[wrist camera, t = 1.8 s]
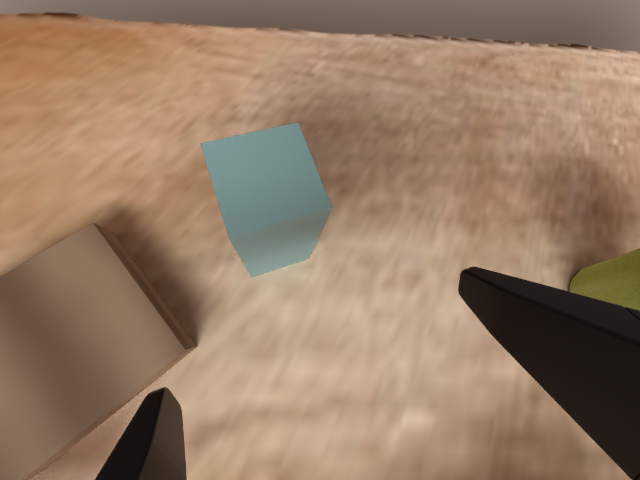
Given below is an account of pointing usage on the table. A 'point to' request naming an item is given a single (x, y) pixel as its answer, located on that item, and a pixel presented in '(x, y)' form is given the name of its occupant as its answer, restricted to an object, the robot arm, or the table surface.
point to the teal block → (268, 196)
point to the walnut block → (76, 346)
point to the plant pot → (611, 280)
